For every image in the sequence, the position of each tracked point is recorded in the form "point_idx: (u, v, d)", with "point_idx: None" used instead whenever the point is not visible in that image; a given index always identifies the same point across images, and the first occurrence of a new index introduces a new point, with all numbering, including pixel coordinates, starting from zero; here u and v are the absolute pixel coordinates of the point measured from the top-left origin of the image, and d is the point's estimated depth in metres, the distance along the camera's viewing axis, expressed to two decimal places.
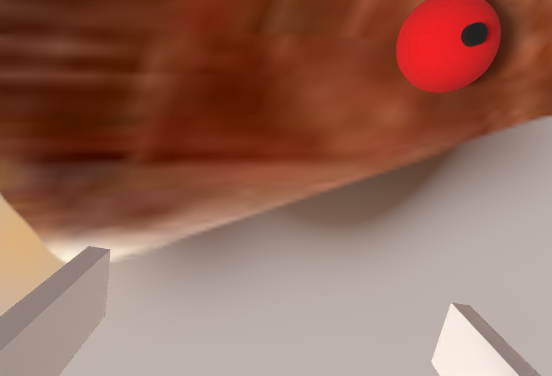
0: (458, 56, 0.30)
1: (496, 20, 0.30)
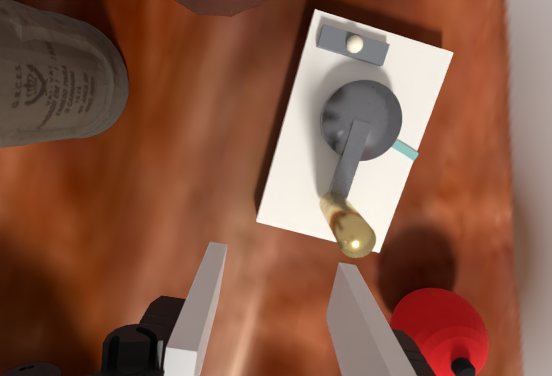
0: None
1: (445, 331, 0.31)
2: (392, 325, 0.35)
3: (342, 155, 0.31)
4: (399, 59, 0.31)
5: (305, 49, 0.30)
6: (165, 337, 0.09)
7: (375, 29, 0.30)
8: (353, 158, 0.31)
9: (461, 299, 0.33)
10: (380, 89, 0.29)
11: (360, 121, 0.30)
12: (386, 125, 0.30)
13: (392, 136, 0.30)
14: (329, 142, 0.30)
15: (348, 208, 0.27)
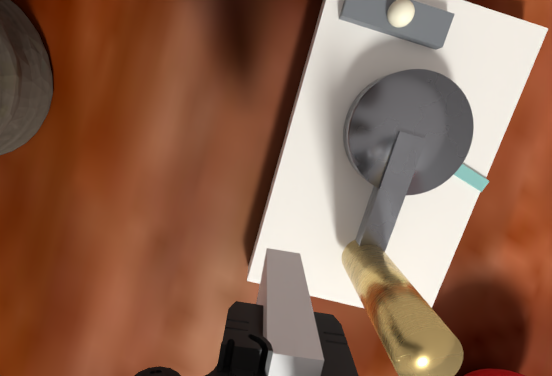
0: None
1: None
2: None
3: (379, 187, 0.20)
4: (465, 38, 0.20)
5: (321, 22, 0.20)
6: None
7: None
8: (396, 191, 0.20)
9: None
10: (440, 83, 0.19)
11: (408, 134, 0.19)
12: (449, 140, 0.19)
13: (457, 157, 0.20)
14: (359, 167, 0.20)
15: (399, 283, 0.16)
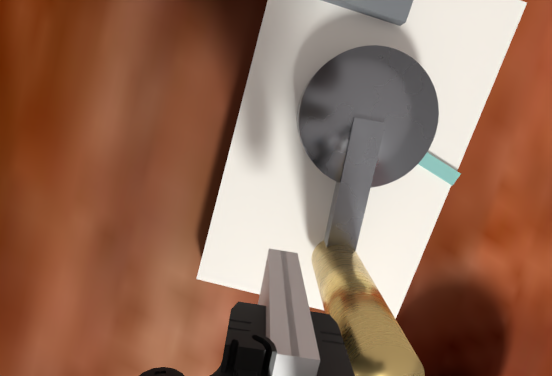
0: None
1: None
2: None
3: (340, 181, 0.18)
4: (433, 14, 0.18)
5: None
6: None
7: None
8: (359, 184, 0.18)
9: None
10: (394, 59, 0.17)
11: (365, 120, 0.17)
12: (412, 121, 0.17)
13: (423, 140, 0.17)
14: (315, 161, 0.18)
15: (359, 290, 0.14)
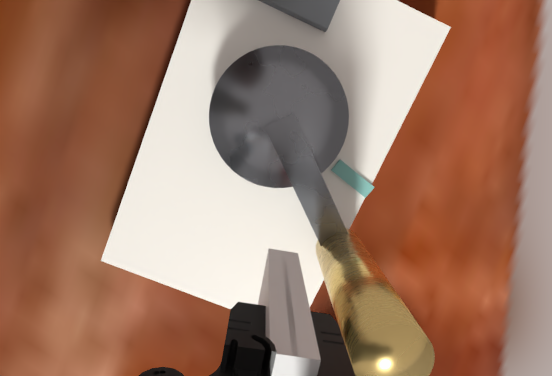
0: None
1: None
2: None
3: (292, 185, 0.18)
4: (359, 25, 0.18)
5: None
6: None
7: None
8: (309, 177, 0.18)
9: None
10: (263, 57, 0.16)
11: (275, 122, 0.17)
12: (316, 95, 0.17)
13: (338, 103, 0.17)
14: (260, 183, 0.18)
15: (347, 280, 0.14)
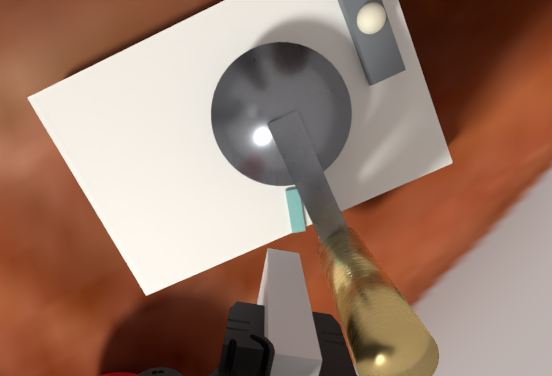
0: None
1: None
2: None
3: (294, 183, 0.18)
4: (396, 103, 0.19)
5: None
6: None
7: (408, 37, 0.18)
8: (312, 175, 0.18)
9: None
10: (266, 54, 0.16)
11: (278, 120, 0.17)
12: (319, 93, 0.17)
13: (341, 101, 0.17)
14: (262, 180, 0.18)
15: (350, 279, 0.14)
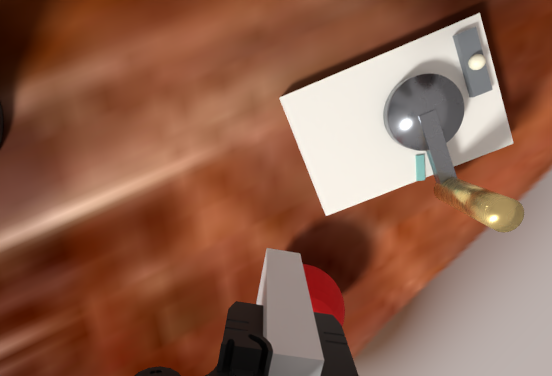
0: None
1: (319, 303, 0.32)
2: None
3: (429, 149, 0.32)
4: (483, 107, 0.34)
5: (445, 29, 0.32)
6: None
7: (493, 71, 0.33)
8: (439, 145, 0.32)
9: None
10: (422, 79, 0.31)
11: (424, 114, 0.32)
12: (448, 100, 0.32)
13: (459, 105, 0.32)
14: (411, 147, 0.32)
15: (472, 191, 0.28)
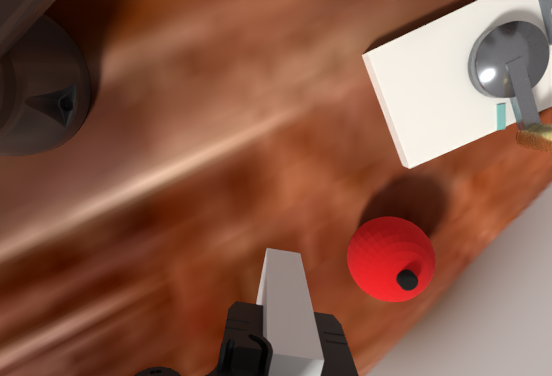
0: (406, 293, 0.33)
1: (417, 248, 0.33)
2: (368, 223, 0.37)
3: (515, 96, 0.34)
4: None
5: None
6: None
7: None
8: (525, 91, 0.33)
9: None
10: (510, 26, 0.32)
11: (512, 61, 0.33)
12: (534, 47, 0.33)
13: (544, 51, 0.33)
14: (498, 95, 0.34)
15: None
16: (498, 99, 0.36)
